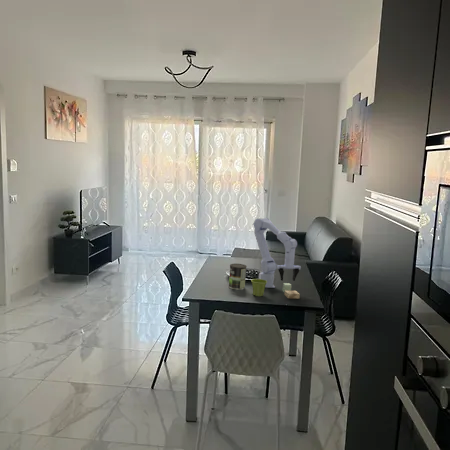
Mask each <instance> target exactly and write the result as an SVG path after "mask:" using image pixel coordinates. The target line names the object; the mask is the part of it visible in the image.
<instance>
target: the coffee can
mask: <svg viewBox="0 0 450 450" xmlns="http://www.w3.org/2000/svg"><path fill="white" fill-rule="evenodd" d="M246 273H247V265H246V264H243V263H230V265H229V277H228V278H229V279H228V288H229V289H231V290H237V291H239V290H240V291H241V290H245V287H246Z"/></svg>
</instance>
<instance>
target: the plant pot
mask: <svg viewBox="0 0 450 450" xmlns="http://www.w3.org/2000/svg"><path fill="white" fill-rule="evenodd" d="M250 281H251V284H252V285H251V286H252V295H253V296H255V297H262V296H263V297H264V293H265V288H266V287H265V285H266V283H267V281H266V280H263V279H259V278H252V279H251V280H250Z"/></svg>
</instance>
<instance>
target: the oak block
mask: <svg viewBox="0 0 450 450" xmlns="http://www.w3.org/2000/svg"><path fill="white" fill-rule="evenodd" d="M284 296H285V297H286V298H287V299H300V293H299V292H298V291H297V290H291V291H285V293H284Z"/></svg>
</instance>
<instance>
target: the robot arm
mask: <svg viewBox="0 0 450 450" xmlns="http://www.w3.org/2000/svg"><path fill="white" fill-rule="evenodd" d="M252 225H253V229H254V237H255V239H256V242H257V246H258V249H259V253H260V256H261V261H260V270H261V272H259V274H258V279H263V280H266V281H267V283H266V285H265V288H267V289H268V288H276V286H275V284H274V282H275V279H274V278H275V272H276V271H277V270H278V272H279V277H280V281H284V273H285V270H292V281H293V282H296V278H297V276H298V274H299V273H300V270H302V269H301V268H302V267H301V265H295V255H296V248H297V247H298V241H297V239H295V238H292V237H291V236H289V235H288V234H287V232H286V231H283V230H282V231H281V230H280V229H279V228H278V227H276V225H275V224H274V223H273V222H272V220H271V219H269V217H263V218H258V217H257V218H256V219H255V220H254V222H253V224H252ZM267 230H269V231H270V232H272V233H273V234H274V235H276V238H277V240H278V241H280V242H281V243H282V244H283V247H284V252H285V254H284V264H280V265H279V264H277V263H276V261H275V259H274V258H273V257H272V256H271V253H270V251H269V246H268V244H267V240H266V238H265V232H266V231H267Z"/></svg>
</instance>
